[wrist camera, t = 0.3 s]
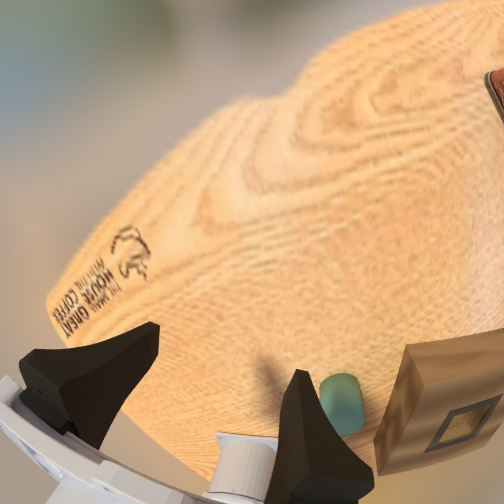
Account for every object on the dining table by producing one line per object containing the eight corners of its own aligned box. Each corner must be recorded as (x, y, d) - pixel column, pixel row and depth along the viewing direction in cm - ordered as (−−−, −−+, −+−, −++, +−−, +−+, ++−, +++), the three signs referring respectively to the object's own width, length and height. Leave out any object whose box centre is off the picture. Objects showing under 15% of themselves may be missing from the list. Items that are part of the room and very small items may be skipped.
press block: (472, 418, 23) (484, 447, 17) (373, 440, 26) (378, 476, 20) (517, 324, 18) (542, 351, 13) (405, 344, 21) (425, 386, 16)
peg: (355, 399, 24) (360, 435, 19) (318, 400, 25) (317, 437, 20) (361, 372, 23) (369, 409, 18) (320, 374, 24) (321, 412, 19)
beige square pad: (465, 418, 19) (466, 421, 19) (432, 427, 20) (433, 431, 20) (481, 390, 18) (483, 393, 17) (447, 399, 19) (449, 403, 18)
